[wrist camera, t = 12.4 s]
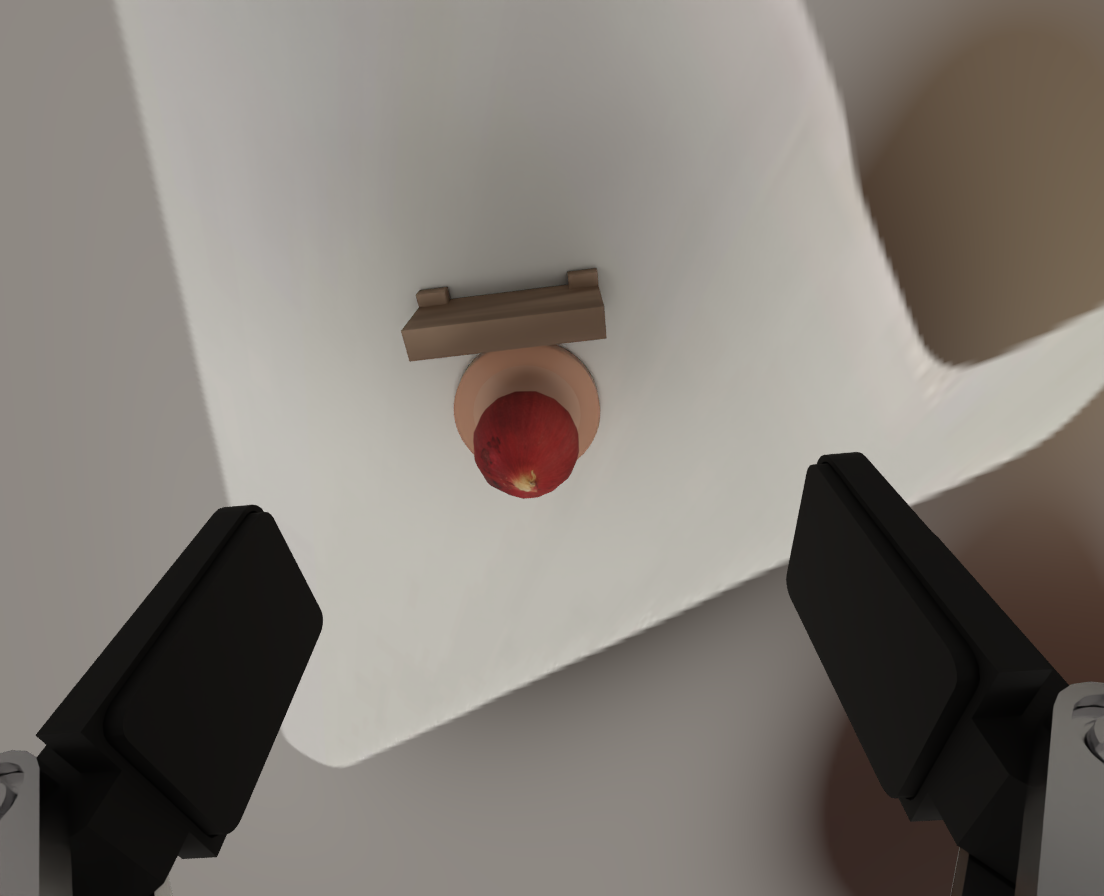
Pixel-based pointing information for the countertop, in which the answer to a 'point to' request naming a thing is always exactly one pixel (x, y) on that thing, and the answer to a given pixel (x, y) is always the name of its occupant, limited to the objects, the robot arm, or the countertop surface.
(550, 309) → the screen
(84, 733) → the robot arm
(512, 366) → the plate
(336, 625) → the countertop surface
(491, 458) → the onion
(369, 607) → the countertop surface
